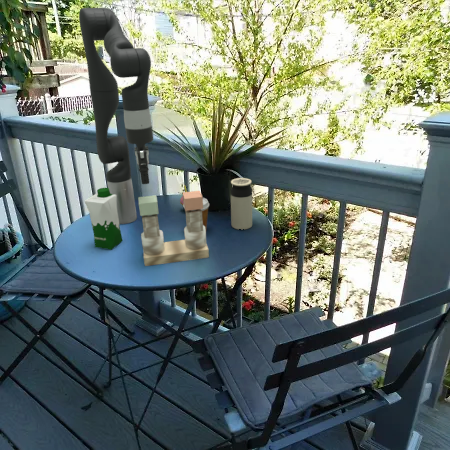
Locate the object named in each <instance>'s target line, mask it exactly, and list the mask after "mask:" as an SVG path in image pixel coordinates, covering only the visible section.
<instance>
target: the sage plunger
mask: <svg viewBox="0 0 450 450" xmlns="http://www.w3.org/2000/svg"><path fill="white" fill-rule="evenodd" d="M158 205H159V204H158V197H157V195H156V194H155V195H147V196H146V195H145V196H138V208H139V216H141V217H142V216H144V215H147V216H152V215H153V214H157V215H159V214H160V213H159V212H160V211H159V206H158Z"/></svg>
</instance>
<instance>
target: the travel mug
mask: <svg viewBox="0 0 450 450" xmlns="http://www.w3.org/2000/svg"><path fill="white" fill-rule="evenodd" d="M230 184H231V188H230V216H231V217H230V219H231V221H230V223H231V227H232V228H234V229H235V230H239V229H241V230H243V229H244V230H248V229H250V228H252V226H253V188H252V186H251V184H252V180H251V179H250V178H247V177H237V178H234V179H231V180H230Z"/></svg>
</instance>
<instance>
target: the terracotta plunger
mask: <svg viewBox="0 0 450 450" xmlns="http://www.w3.org/2000/svg"><path fill="white" fill-rule="evenodd" d="M182 196H183V204H184V207H185V209H184V211H185V210H186V211H187V210H191V211H196V209H203V198H204V197H203V194H202V193H201V191H200V190H194V191H193V190H192V191H187V192H185V191H183V192H182ZM184 207H183V208H184Z"/></svg>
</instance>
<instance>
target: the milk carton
mask: <svg viewBox="0 0 450 450" xmlns="http://www.w3.org/2000/svg"><path fill="white" fill-rule="evenodd" d="M84 203H85V206H86V208H87V210H88V212H89V217H90V223H91V227H92V233H93V241H94V248H99V249H102V250H103V249H104V250H110V251H112V250H114V249H115V248H116V246H117V247H118V245H119V244H120V243H122V242H123V236H122V231H121V227H120V225H121V224H119V219H118V213H117V195H115V194H110V191H109V188H108V187H101V188H99V189H97V191H96V193H95V194H93V195H92V196H90V197H88V198H87V199H85V200H84Z"/></svg>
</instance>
